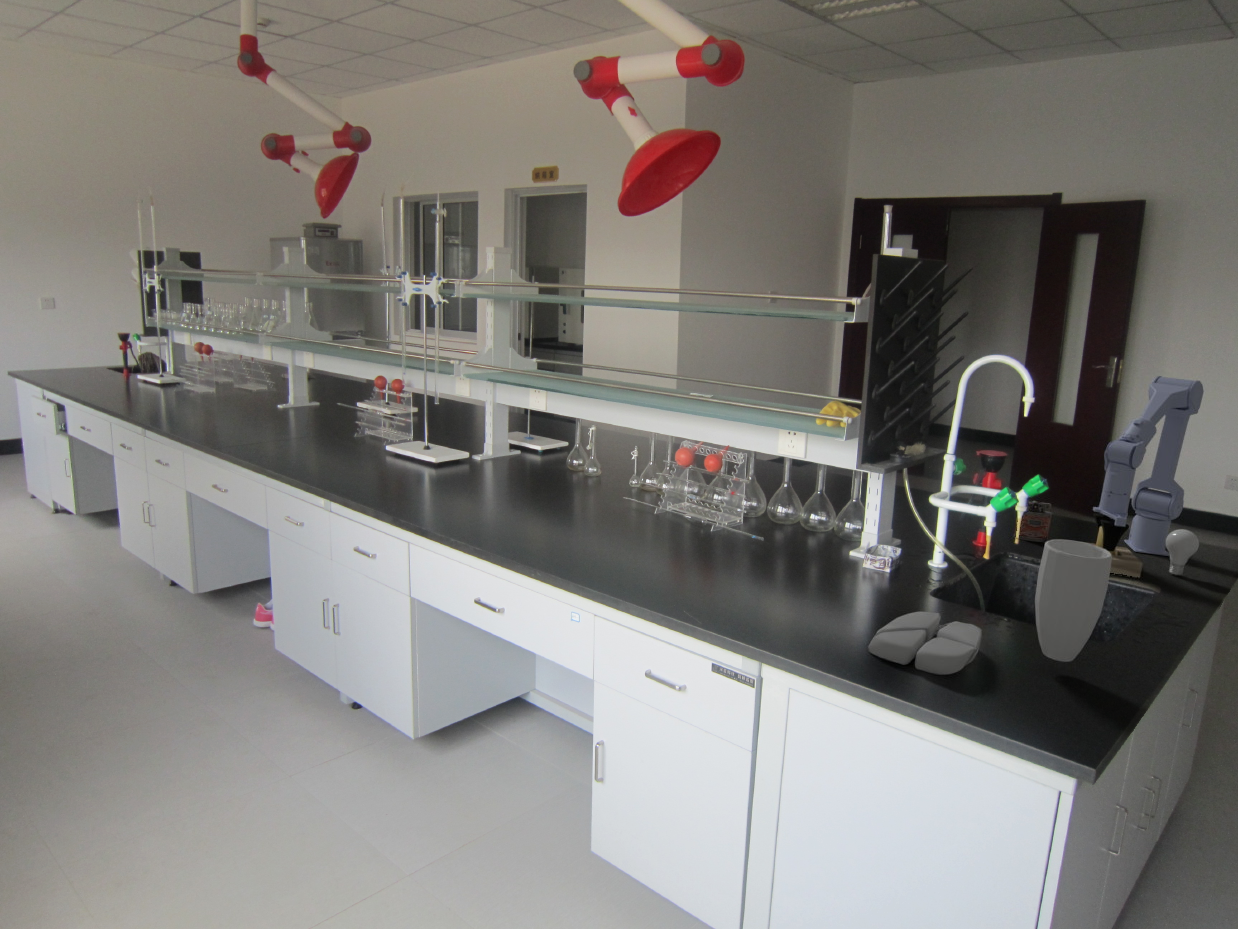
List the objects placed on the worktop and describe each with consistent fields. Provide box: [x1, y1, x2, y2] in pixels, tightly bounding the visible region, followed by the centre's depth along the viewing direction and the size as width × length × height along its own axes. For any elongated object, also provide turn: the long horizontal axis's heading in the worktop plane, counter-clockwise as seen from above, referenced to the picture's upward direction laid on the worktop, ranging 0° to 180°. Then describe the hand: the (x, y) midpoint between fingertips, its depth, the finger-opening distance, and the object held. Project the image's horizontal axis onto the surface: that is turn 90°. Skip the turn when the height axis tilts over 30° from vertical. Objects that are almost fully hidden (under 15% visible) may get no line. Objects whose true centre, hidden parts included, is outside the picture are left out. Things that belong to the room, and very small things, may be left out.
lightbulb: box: [1165, 528, 1200, 577], centre depth 190 cm, size 6×6×11 cm
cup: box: [1034, 539, 1112, 663], centre depth 134 cm, size 10×10×22 cm
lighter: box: [1013, 500, 1054, 543], centre depth 212 cm, size 8×3×10 cm, turn 76°
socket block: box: [1083, 541, 1144, 579], centre depth 194 cm, size 12×12×4 cm
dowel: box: [1095, 526, 1115, 555], centre depth 194 cm, size 4×4×8 cm
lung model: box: [867, 611, 983, 676], centre depth 144 cm, size 7×17×25 cm
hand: (1105, 547), depth 194 cm, fingers open, 4 cm apart
